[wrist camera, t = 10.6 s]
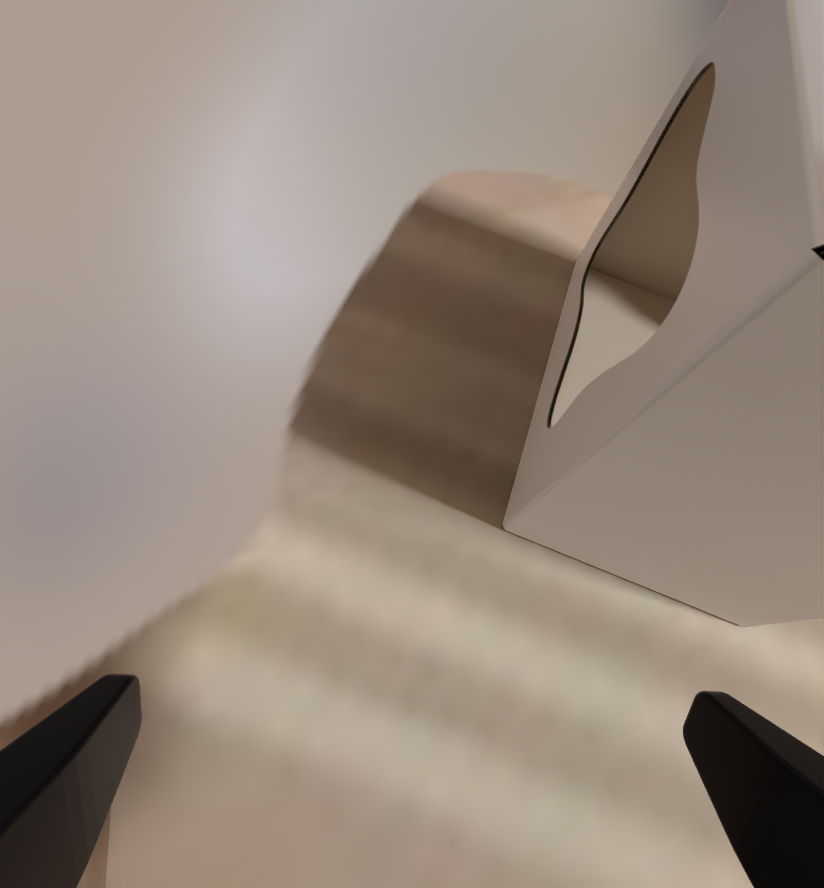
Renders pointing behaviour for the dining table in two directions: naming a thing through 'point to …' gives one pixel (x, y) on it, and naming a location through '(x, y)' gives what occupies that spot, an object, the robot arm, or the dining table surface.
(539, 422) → the gable box
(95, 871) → the walnut riser
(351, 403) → the dining table surface
